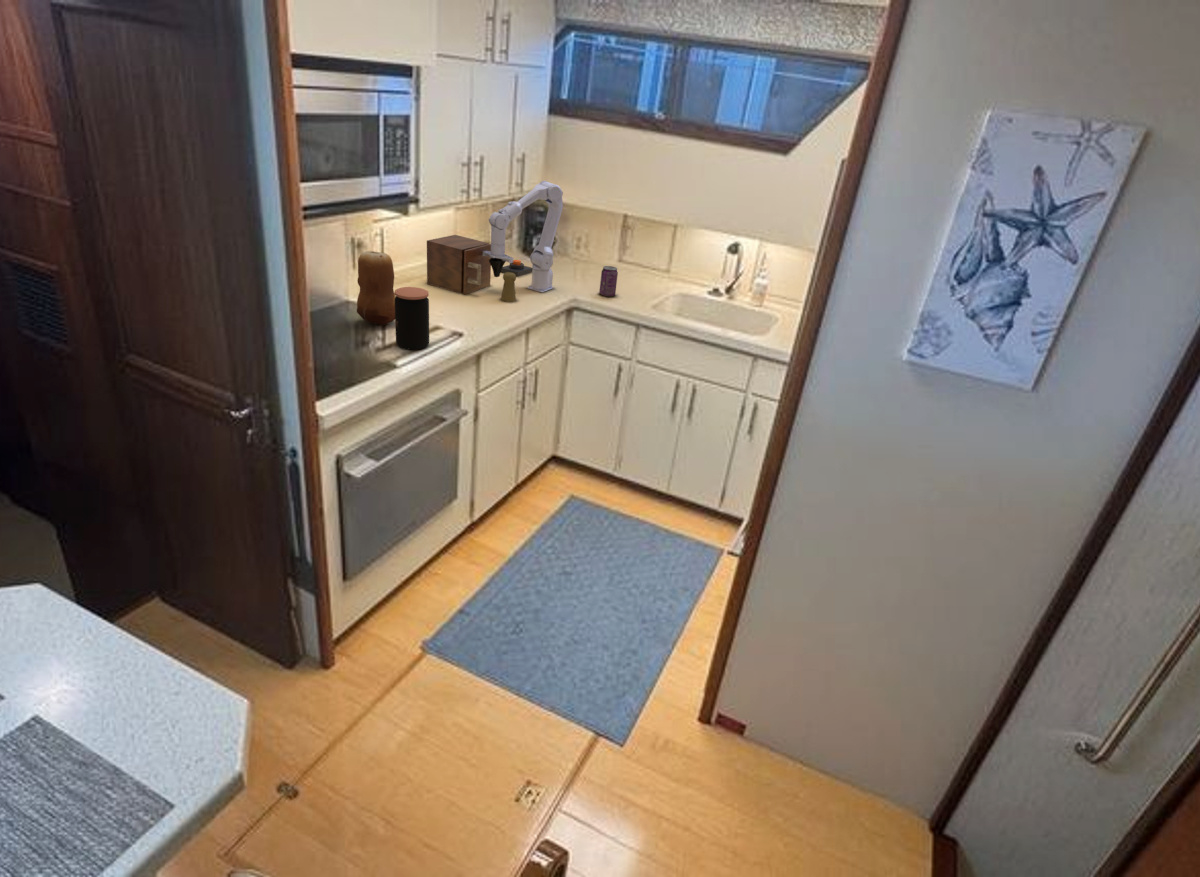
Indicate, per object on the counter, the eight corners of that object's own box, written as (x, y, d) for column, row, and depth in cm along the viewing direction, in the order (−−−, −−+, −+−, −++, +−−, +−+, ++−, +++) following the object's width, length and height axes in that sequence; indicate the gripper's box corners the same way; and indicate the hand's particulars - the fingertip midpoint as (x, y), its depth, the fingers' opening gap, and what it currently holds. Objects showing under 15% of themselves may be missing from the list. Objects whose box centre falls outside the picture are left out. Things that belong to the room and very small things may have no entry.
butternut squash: (391, 315, 250) (389, 246, 239) (404, 328, 241) (402, 256, 229) (352, 319, 243) (348, 247, 231) (364, 331, 233) (360, 258, 222)
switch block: (514, 267, 326) (515, 259, 324) (532, 272, 322) (533, 263, 320) (499, 272, 317) (500, 263, 315) (517, 277, 313) (518, 268, 311)
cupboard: (487, 285, 296) (489, 243, 288) (461, 293, 282) (461, 249, 274) (454, 276, 303) (455, 234, 295) (427, 283, 289) (426, 240, 281)
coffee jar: (407, 337, 234) (405, 284, 225) (435, 343, 231) (435, 290, 223) (389, 346, 224) (387, 292, 216) (418, 353, 222) (417, 299, 214)
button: (515, 263, 320) (515, 259, 319) (522, 264, 319) (522, 261, 318) (511, 264, 317) (511, 260, 316) (517, 266, 316) (517, 262, 315)
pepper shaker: (513, 302, 278) (514, 275, 273) (498, 300, 279) (500, 273, 274) (517, 298, 284) (519, 272, 278) (503, 296, 284) (504, 270, 279)
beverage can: (605, 291, 308) (608, 264, 302) (618, 295, 304) (621, 268, 299) (595, 294, 302) (598, 267, 297) (609, 298, 299) (612, 271, 293)
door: (501, 288, 294) (503, 246, 286) (477, 297, 279) (478, 253, 271) (488, 285, 296) (489, 243, 288) (463, 294, 282) (463, 250, 273)
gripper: (477, 241, 279) (476, 274, 285) (506, 248, 273) (505, 282, 280) (488, 238, 285) (487, 271, 291) (517, 245, 279) (515, 279, 285)
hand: (496, 276), depth 286 cm, fingers closed
